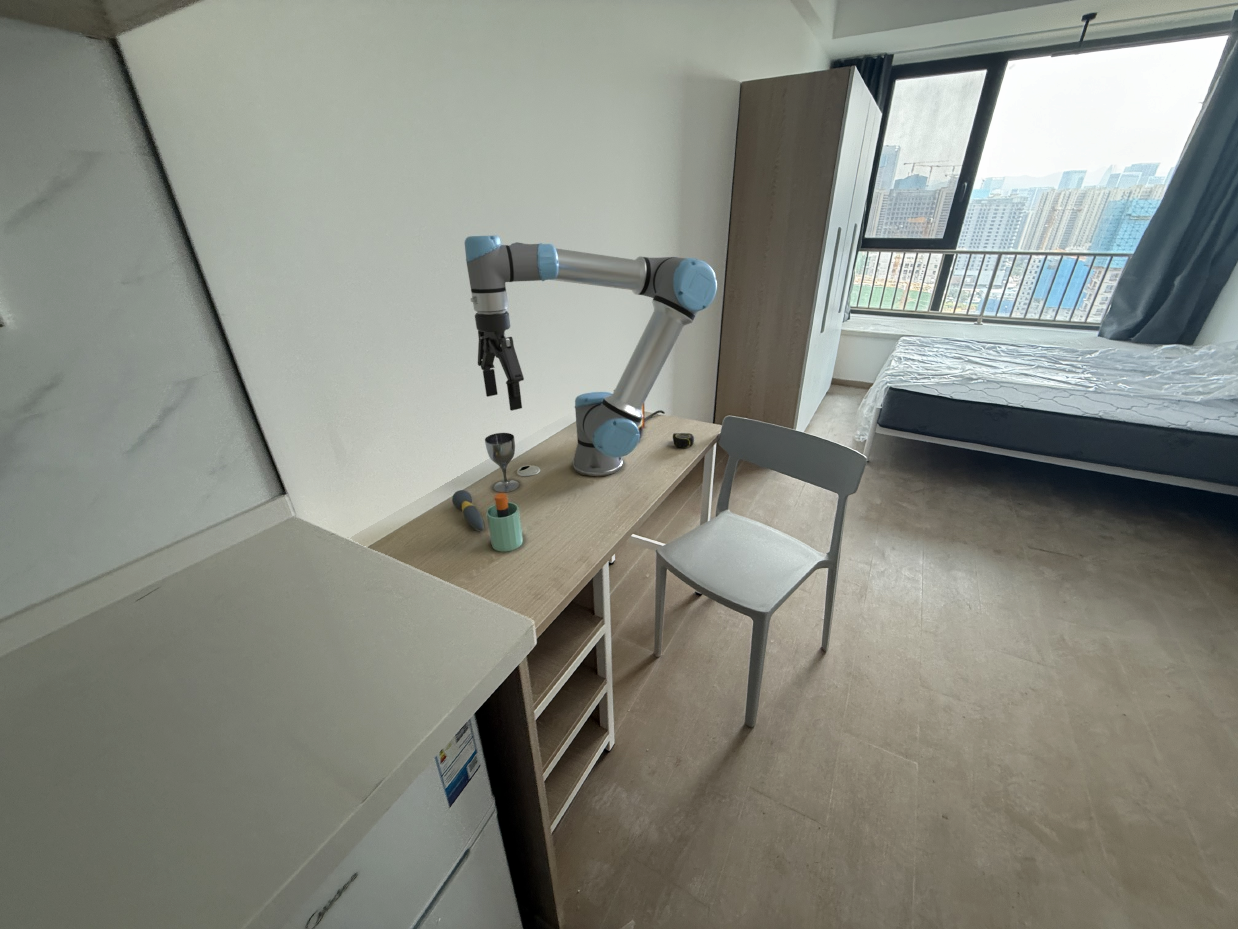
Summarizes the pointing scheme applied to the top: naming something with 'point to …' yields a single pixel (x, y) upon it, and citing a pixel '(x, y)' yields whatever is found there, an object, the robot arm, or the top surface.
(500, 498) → the marker
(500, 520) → the green pen cup
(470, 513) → the paintbrush
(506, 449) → the wine glass
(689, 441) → the tape measure
